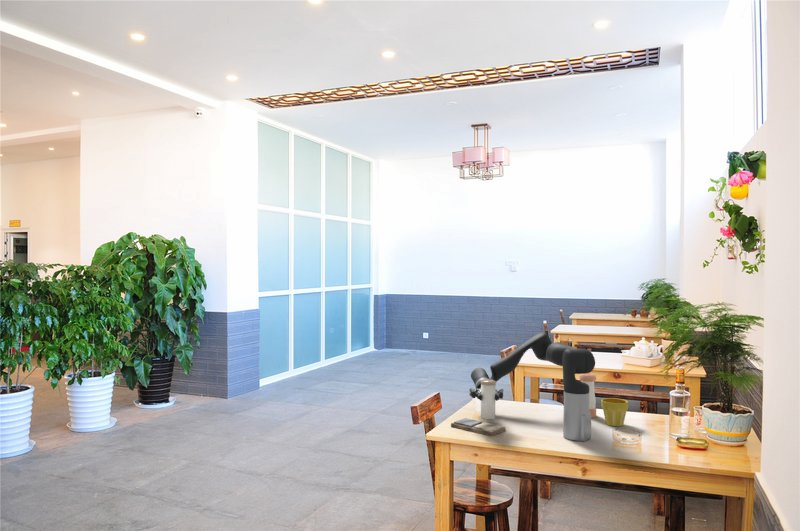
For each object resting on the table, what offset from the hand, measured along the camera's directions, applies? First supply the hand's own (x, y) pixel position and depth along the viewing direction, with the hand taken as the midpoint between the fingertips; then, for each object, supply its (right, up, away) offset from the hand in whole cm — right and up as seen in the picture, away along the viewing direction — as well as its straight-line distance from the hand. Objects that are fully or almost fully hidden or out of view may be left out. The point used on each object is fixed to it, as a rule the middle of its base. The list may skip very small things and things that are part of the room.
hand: (488, 398), depth 224 cm
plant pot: (+53, -14, +13) cm, 57 cm away
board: (-3, -13, +5) cm, 15 cm away
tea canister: (0, -8, +3) cm, 8 cm away
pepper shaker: (+47, -14, +27) cm, 56 cm away
